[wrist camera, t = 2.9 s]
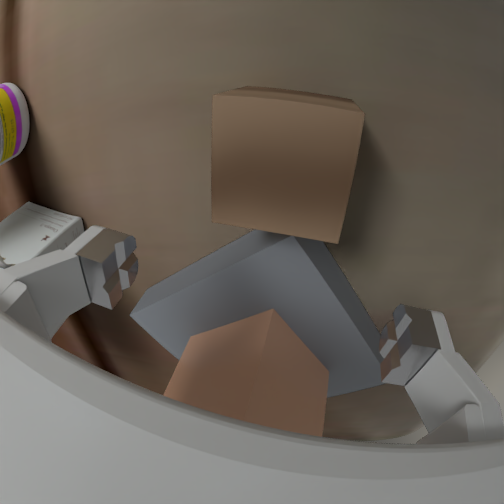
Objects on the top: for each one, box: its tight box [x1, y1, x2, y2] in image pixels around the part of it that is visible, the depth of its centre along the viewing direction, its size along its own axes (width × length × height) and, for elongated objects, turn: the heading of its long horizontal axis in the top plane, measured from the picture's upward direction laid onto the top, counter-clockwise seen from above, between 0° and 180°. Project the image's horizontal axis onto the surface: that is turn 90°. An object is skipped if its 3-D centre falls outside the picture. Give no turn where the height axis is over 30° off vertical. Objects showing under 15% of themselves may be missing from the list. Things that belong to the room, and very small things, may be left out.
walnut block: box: [211, 86, 365, 244], centre depth 12 cm, size 5×5×5 cm
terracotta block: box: [163, 309, 329, 437], centre depth 17 cm, size 7×7×7 cm
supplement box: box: [0, 202, 84, 338], centre depth 18 cm, size 7×7×13 cm
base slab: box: [130, 229, 385, 397], centre depth 21 cm, size 14×14×3 cm
